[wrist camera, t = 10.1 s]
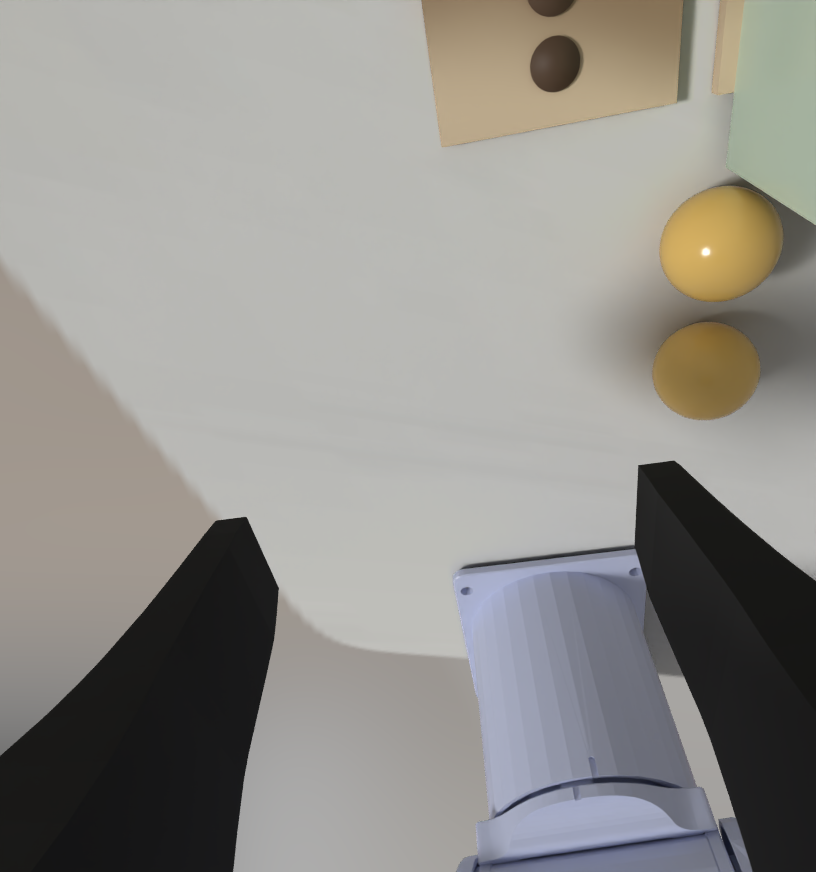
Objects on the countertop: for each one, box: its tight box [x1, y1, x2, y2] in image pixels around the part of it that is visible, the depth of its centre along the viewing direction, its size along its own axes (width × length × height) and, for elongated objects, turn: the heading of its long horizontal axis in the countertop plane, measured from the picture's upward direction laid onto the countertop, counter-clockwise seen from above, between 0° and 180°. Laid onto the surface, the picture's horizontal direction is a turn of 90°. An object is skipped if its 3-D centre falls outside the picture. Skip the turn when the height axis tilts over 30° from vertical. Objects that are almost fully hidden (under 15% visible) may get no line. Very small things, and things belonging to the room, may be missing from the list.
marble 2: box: [652, 322, 761, 420], centre depth 20 cm, size 3×3×3 cm
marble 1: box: [659, 186, 784, 302], centre depth 17 cm, size 3×3×3 cm
